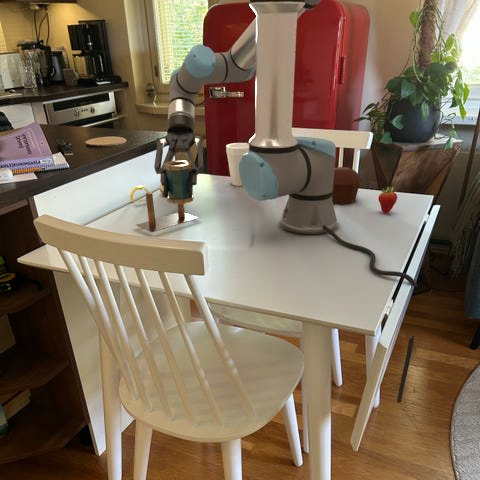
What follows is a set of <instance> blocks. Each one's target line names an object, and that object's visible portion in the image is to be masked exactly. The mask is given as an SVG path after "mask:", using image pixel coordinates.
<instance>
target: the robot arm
mask: <svg viewBox="0 0 480 480" xmlns="http://www.w3.org/2000/svg"><path fill="white" fill-rule="evenodd" d="M321 2H322V0H248V5H249V7H250V8H251V9H252V11H253V12H254V13H255V15H256V17H255V18H254V19H253V21H251V23H250V24H249V25H248V26H247V28H246V29H245V30H244V32H243V33H242V34H241V35H240V36H239V38H238V39H237V40H236V41H235V42H234V44H233V45H232V47H230V48H229V50H227V51H225V52H214V51H213V50H212V48H210V47H209V46H205V45H204V44H201V43H200V44H199V43H198V44H196V45H195V44H194V45H193V46H192V47H191V49H190V50H189V52H188V53H187V55H185V58H184V60H183V62H182V64H181V66H180V67H178V68H176V69H175V70H173V71H172V72H171V74H170V78H169V83H168V88H169V91H168V92H169V93H168V112H167V114H168V115H167V132H166V135H165V137H164V138H161V139H160V137H157V138H155V143H156V151H155V159H154V165H153V168H154V171H155V174H156V175H160V178H159V179H160V181H159V182H160V185H161V184H162V186H164V192H163V193H164V195H163V196H164V198H165V199H167V198H168V181H167V171H166V169H164V163H165V162H169V161H174V157H175V156H176V154H177V153H185V154H186V157H187V161H189V162H191V164H192V166H191V168H190V171H189V188H188V193H189V197H190V198H192V196H193V195H194V194H193V193H194V192H193V191H194V186H197V184H198V175H199V174H202V175H203V174H204V172H205V168H204V148H205V139H204V137H202V136H201V137H196V135H195V122H196V121H195V120H196V118H195V117H196V99H197V96H198V94H199V93H200V92H201V90H202V89H203V87H204V86H205V85H213V84H226V83H242V82H245V81H246V82H247V81H250V80H252V78H253V77H254V75H255V118H254V119H255V123H254V124H255V125H254V127H255V128H254V129H255V131H254V135H253V136H252V137H251V138H250V139H249V141H248V144H249V152H247V153H246V154H244V155H243V156H242V159H241V160H240V162H239V175H240V179H241V182H242V185H243V186H242V187H243V188H244V189H245V192H246V193H247V194H248V196H250V197H251V198H252V199H254V200H256V201H261V202H263V201H268V200H276V199H279V198H282V197H286V196H288V197H287V201H286V204H285V207H284V209H283V212H282V215H281V218H280V225H281V228H283V229H284V230H286V231H288V232H290V233H294V234H298V235H299V234H300V235H322V234H329V235H330V236H331V237H333V239H335V241H336V242H338V243H339V244H341V245H342V246H345V247H347V248H350V249H353V250H357V251H361V252H364V253H365V254H368V255H369V256H370V261H369V268H370V270H371V271H372V272H373V273H375V274H376V275H380V276H385V277H386V276H387V277H398V278H402V279H404V280H406V281H407V282H408V283H410V285H411V286H412V287H414V288H418V284H417V282H416V280H415V279H414V278H413V277H412V276H410V275H409V274H407V273H405V272H401V271H395V270H394V271H393V270H383V269H382V270H381V269H379V268H377V267H376V266H375V262H376V254H375V253H374V252H373V251H372V250H371V249H369V248H367V247H364V246H361V245H358V244H353V243H350V242H348V241H346V240H344V239H342V238H341V237H339V235H338V234H336V233H335V232H334V230H335V229H336V228H337V224H338V223H337V222H338V218H337V214H336V211H335V206H334V205H335V204H333V201H332V191H333V181H334V170H335V168H336V159H337V156H336V155H337V154H336V153H337V151H336V149H337V147H336V144H335V142H334V141H332V140H330V139H325V138H319V137H311V136H294V135H293V133H292V132H293V131H292V129H293V112H294V111H293V110H294V109H293V108H294V88H295V69H296V67H295V66H296V47H297V46H296V44H297V27H298V19H299V18H300V17H301V16H302V15H303V14H304V13H305V12H306V11H310V10H313V9H315V8H316V7H317V6H318V5H319V3H321ZM166 144H167V146H168V150H167V151H166V152H167V153H166V154H165V158H164V160H163V153H164V148H165V145H166ZM194 145H195V146H196V147H197V162H198V163H197V164H198V165H197V166H196V164H195V160H194V158H193V155H192V151H191V148H192V147H193V146H194ZM414 341H415V335H412V336H411V337H410V338H409V339H408V344H407V349H406V354H405V358H404V359H405V360H404V363H403V368H402V374H401V377H400V382H399V388H398V391H397V392H398V393H397V398H396V403H399V404H401V403H402V401H403V394H404V389H405V385H406V380H407V376H408V371H409V368H410V367H409V366H410V362H411V357H412V353H413V347H414Z"/></svg>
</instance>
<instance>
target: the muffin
mask: <svg viewBox="0 0 480 480" xmlns="http://www.w3.org/2000/svg"><path fill="white" fill-rule="evenodd" d="M362 181H363V180H362V178H361V176H360V175H359V173H358V172H357V171H356V170H354V169H353V168H350V167H346V166H339V167H335V170H334V181H333V191H332V201H333V205H342V206H343V205H351V204H353V203H355V202H356V199H357V196H358V192H359V189H360V184H361V183H362Z"/></svg>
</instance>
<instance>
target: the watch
mask: <svg viewBox="0 0 480 480" xmlns="http://www.w3.org/2000/svg"><path fill="white" fill-rule="evenodd" d="M142 190H144V191H145V193H147V192H149V191H148V189H147V188H145V186H144V185H140V184H139V185H135V186H134V188H133V189H132V190H131V191H130V201H131V202H132V203H135V200H134V194H135V192H137V191H142Z"/></svg>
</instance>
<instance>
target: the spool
mask: <svg viewBox="0 0 480 480" xmlns="http://www.w3.org/2000/svg"><path fill="white" fill-rule="evenodd" d="M191 166H192V164H191V162H189V160H181V159H180V160H172V161H169V162H165V163H164V169H166V171H167V181H168V192H169V195H168V198H166V202H167V203H170V204H174V205H176V204H177V205H178V204H184V205H185V204H188V203H192V202H193V201H194V200H195V196H194V194H193V196H192V198H190V197H189V193H188V188H189V171H191Z"/></svg>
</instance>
